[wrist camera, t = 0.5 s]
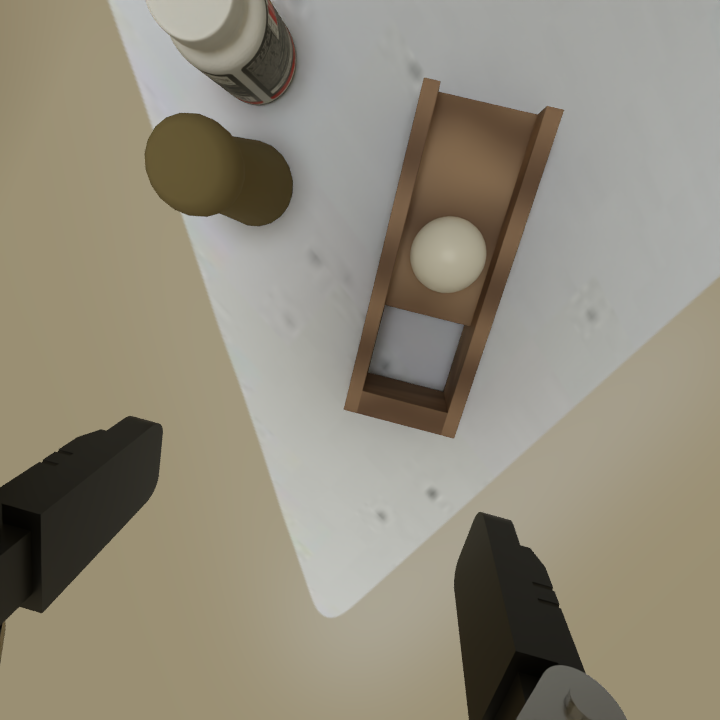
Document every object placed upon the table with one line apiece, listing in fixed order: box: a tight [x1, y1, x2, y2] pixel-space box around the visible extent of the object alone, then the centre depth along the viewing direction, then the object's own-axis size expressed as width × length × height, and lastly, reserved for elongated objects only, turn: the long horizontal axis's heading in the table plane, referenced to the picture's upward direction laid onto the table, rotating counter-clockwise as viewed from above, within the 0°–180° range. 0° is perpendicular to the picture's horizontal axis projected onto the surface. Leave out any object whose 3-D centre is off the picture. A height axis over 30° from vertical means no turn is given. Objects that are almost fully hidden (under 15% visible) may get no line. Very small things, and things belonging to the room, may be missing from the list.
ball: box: [410, 216, 486, 293], centre depth 28 cm, size 5×5×5 cm
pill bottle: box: [146, 0, 296, 104], centre depth 26 cm, size 6×6×10 cm
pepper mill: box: [145, 113, 293, 226], centre depth 27 cm, size 6×6×11 cm
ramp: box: [344, 78, 564, 438], centre depth 31 cm, size 22×8×4 cm, turn 167°
